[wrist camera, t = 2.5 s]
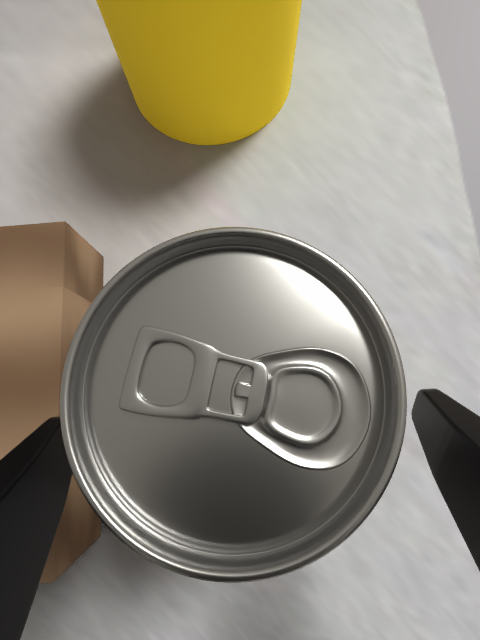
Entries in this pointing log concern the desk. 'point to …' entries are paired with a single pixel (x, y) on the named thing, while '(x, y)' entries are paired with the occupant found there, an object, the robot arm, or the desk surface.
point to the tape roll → (205, 63)
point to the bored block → (44, 351)
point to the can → (233, 404)
